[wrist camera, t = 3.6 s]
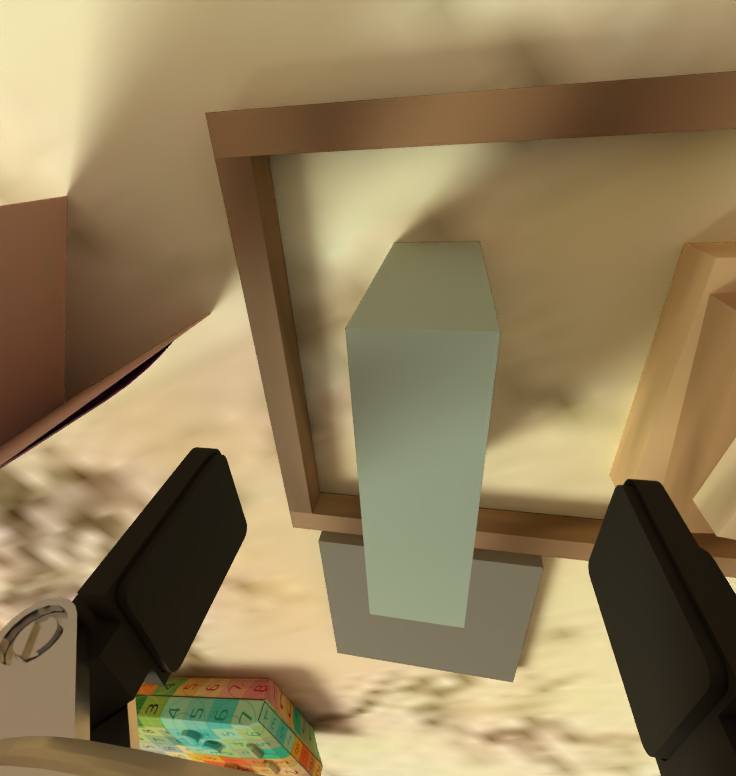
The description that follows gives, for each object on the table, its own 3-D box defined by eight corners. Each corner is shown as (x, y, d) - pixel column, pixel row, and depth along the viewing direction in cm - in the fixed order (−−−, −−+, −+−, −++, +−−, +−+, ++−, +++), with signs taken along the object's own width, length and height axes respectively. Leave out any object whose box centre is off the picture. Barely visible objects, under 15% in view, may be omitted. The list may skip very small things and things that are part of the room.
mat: (540, 554, 22) (543, 567, 21) (511, 669, 28) (512, 682, 27) (322, 529, 24) (318, 540, 23) (340, 641, 30) (337, 652, 29)
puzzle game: (316, 797, 36) (145, 775, 42) (329, 732, 40) (172, 721, 46) (253, 735, 31) (70, 721, 37) (276, 667, 35) (107, 665, 41)
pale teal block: (479, 241, 14) (500, 331, 8) (461, 459, 20) (464, 628, 13) (394, 242, 15) (345, 327, 8) (398, 454, 20) (369, 614, 13)
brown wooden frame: (1191, 41, 9) (1304, 26, 8) (800, 557, 19) (824, 587, 18) (228, 115, 14) (205, 112, 12) (301, 505, 23) (293, 527, 22)
